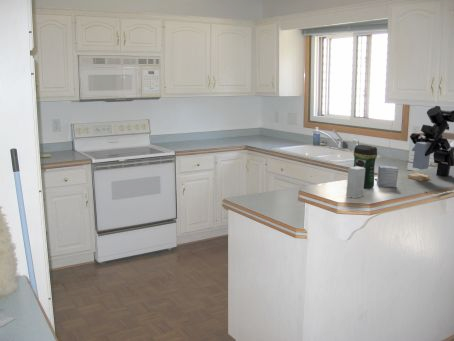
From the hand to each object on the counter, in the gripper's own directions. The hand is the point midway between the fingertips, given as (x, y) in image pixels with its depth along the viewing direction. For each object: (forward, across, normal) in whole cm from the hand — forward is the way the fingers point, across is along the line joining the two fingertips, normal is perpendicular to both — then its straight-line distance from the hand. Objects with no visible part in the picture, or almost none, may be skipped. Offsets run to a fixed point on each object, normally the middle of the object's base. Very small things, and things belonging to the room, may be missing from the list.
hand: (420, 154), depth 232 cm
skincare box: (+45, +7, -28) cm, 53 cm away
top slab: (+7, 0, +9) cm, 12 cm away
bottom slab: (+8, 0, +10) cm, 13 cm away
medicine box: (+26, +1, -8) cm, 27 cm away
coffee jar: (+34, -3, -16) cm, 38 cm away
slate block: (+4, 0, +6) cm, 7 cm away
